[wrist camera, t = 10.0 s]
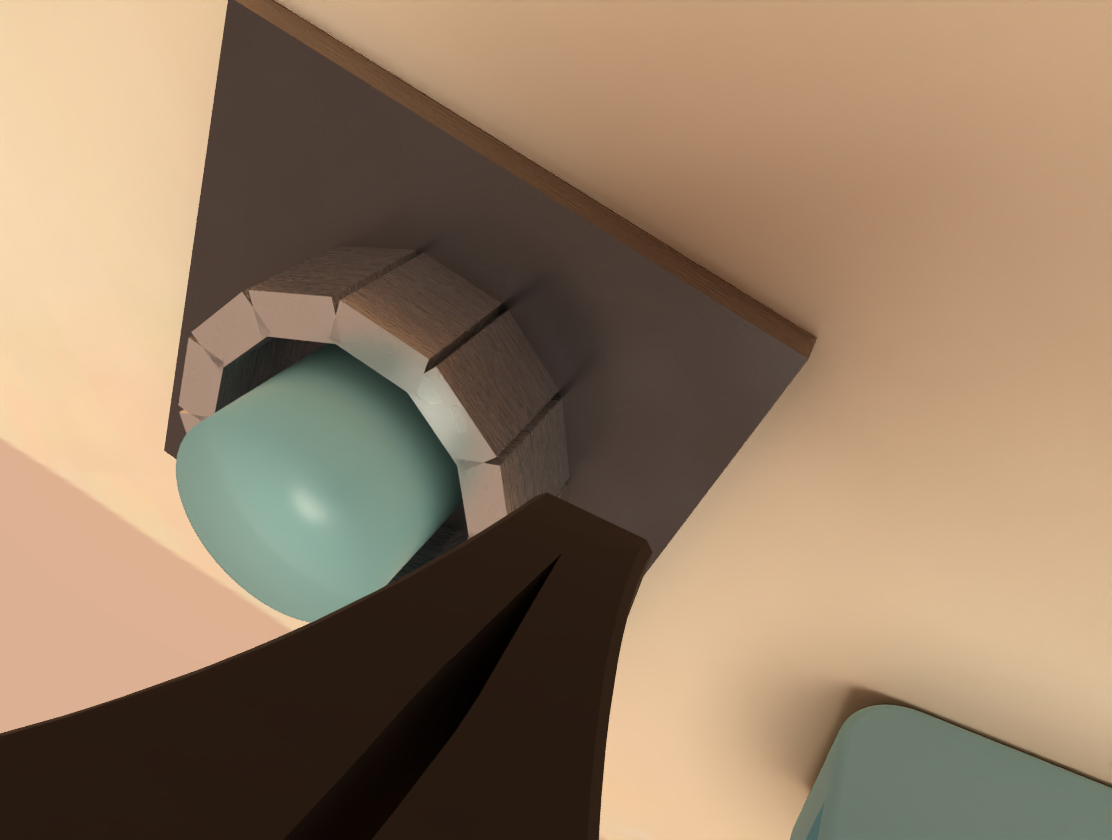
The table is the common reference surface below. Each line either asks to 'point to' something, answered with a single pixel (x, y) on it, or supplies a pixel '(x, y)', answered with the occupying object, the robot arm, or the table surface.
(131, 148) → the table surface
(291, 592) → the teal rounded cylinder
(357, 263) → the square base ring holder
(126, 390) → the table surface
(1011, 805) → the data package
